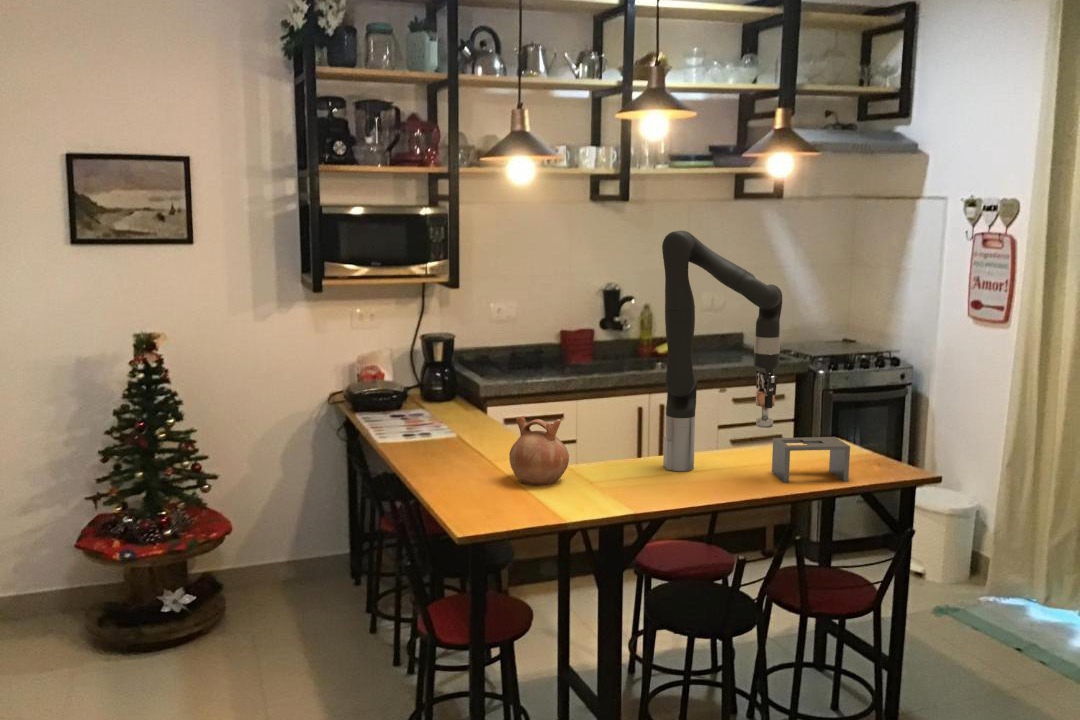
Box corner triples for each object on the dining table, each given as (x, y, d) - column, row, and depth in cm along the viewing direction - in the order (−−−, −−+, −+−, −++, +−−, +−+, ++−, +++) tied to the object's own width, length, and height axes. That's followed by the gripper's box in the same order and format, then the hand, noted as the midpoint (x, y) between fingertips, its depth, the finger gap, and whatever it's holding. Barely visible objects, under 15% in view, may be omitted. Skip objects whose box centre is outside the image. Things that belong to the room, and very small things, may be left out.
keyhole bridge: (783, 482, 292) (785, 447, 290) (771, 472, 303) (773, 438, 302) (848, 481, 293) (850, 446, 291) (833, 470, 305) (835, 436, 303)
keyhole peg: (758, 428, 292) (759, 394, 290) (752, 424, 297) (753, 390, 295) (776, 427, 292) (777, 393, 290) (770, 423, 297) (771, 390, 296)
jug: (579, 477, 298) (580, 414, 295) (550, 492, 282) (550, 426, 279) (528, 469, 307) (528, 408, 304) (497, 483, 292) (497, 419, 288)
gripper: (748, 348, 298) (746, 401, 300) (761, 355, 284) (760, 411, 286) (771, 347, 298) (770, 401, 301) (786, 354, 284) (784, 410, 287)
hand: (765, 405), depth 293 cm, fingers closed on keyhole peg, 5 cm apart
